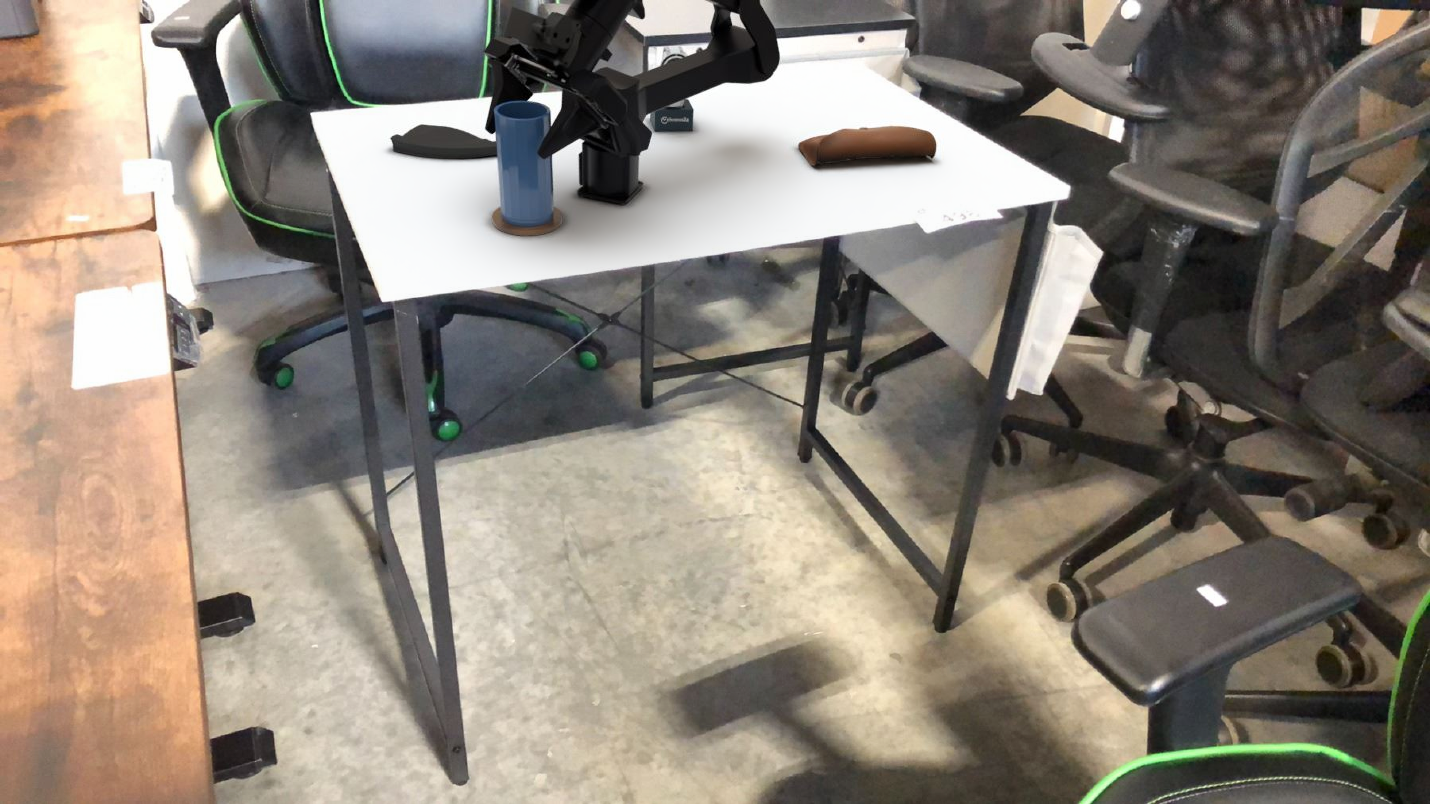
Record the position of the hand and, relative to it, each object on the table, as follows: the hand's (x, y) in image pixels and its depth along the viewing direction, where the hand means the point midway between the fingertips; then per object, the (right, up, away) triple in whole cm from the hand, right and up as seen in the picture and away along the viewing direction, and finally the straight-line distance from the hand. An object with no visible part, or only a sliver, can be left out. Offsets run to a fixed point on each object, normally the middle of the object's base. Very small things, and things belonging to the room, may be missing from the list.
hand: (513, 144), depth 109 cm
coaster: (0, -7, +6) cm, 10 cm away
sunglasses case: (+43, +6, +30) cm, 53 cm away
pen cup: (0, -7, +6) cm, 9 cm away
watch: (+16, +11, +34) cm, 40 cm away
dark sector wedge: (-14, +5, +22) cm, 27 cm away
